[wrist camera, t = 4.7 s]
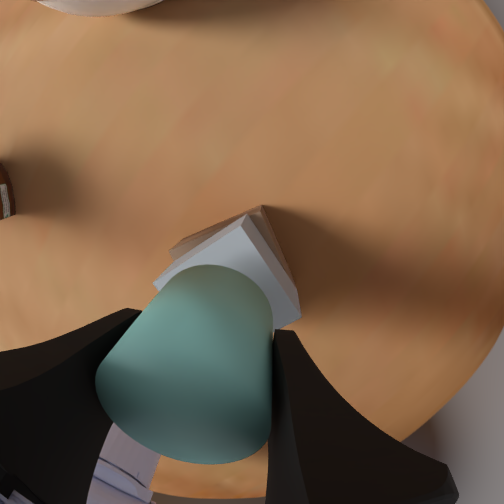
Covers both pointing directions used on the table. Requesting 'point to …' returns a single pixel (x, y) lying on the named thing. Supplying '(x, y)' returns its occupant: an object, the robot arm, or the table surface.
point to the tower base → (255, 215)
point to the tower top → (244, 266)
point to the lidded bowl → (98, 6)
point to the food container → (6, 195)
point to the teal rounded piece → (195, 369)
